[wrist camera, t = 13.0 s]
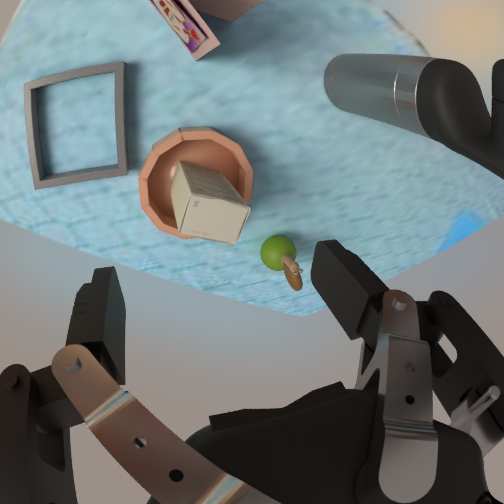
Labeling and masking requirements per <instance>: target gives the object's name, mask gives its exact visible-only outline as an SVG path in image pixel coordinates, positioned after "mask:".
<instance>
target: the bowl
mask: <svg viewBox="0 0 504 504" xmlns="http://www.w3.org/2000/svg"><path fill="white" fill-rule="evenodd" d="M179 161H184V162H188V163H192V164H196V165H200V166H203V167H207V168H210V169H213V170H217V171H220V172H222V173H223V175H224V176H225V177H226V178H227V180H228V181H229V182H230V183H231V185H232V186H233V187H234V188H235V190H236V191H237V192H238V193H239V194H240V196H241V197H242V198H243V199H244V201H245V202H246V203H247V204H248V203H249V201H250V200H251V197H252V182H253V169H252V167H251V165H250V163H249V162H248V160H247V158H246V156H245V154H244V152H243V150H242V148H241V147H240V145H238V144H237V143H236V142H235V141H233V140H232V139H230V138H228V137H227V136H225V135H223V134H221V133H219V132H217V131H216V130H214V129H212V128H210V127H186V128H179V129H176V130H175V131H173V132H171V133H170V134H168V135H167V136H165V137H164V138H162V139H160V140H159V141H157V142H156V143H154V145H153V146H152V147H151V149H150V151H149V153H148V155H147V157H146V159H145V161H144V163H143V165H142V167H141V169H140V173H139V178H138V180H139V192H140V202H141V207H142V209H143V211H144V212H145V213H146V214H147V216H148V217H149V218H150V220H151V221H152V222H153V223H154V225H155V226H156V227H157V228H158V229H159V230H161V231H164V232H166V233H169V234H171V235H174V236H176V237H179V238H182V239H193V238H195V237H190V236H186V235H182V234H179V231H178V227H177V222H176V218H175V214H174V209H173V204H172V199H171V194H170V187H171V183H172V180H173V177H174V174H175V171H176V168H177V165H178V162H179Z"/></svg>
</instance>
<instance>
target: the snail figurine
mask: <svg viewBox="0 0 504 504" xmlns="http://www.w3.org/2000/svg"><path fill="white" fill-rule="evenodd" d="M295 258H296V248H295V245H294V244H293V242H292V241H291V240H290V239H289V238H287V237H285V236H282V235H275V236H272V237H270V238H268V239H267V240H266V241H265V242H264V243H263V245H262V247H261V259H262V261H263V263H264V264H265V265H266V266H267V267H268V268H270V269H272V270H275V271H282V270H284V273H285V276H286V279H287V281H288V282H289V284H290V286H291V287H292V288H293V289H294V290H296V291H299V290H301V289H302V286H303V283H302V279H301V276H300V273H302V272H303V269H300V268H299V265H298V263H296V262H295Z"/></svg>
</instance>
